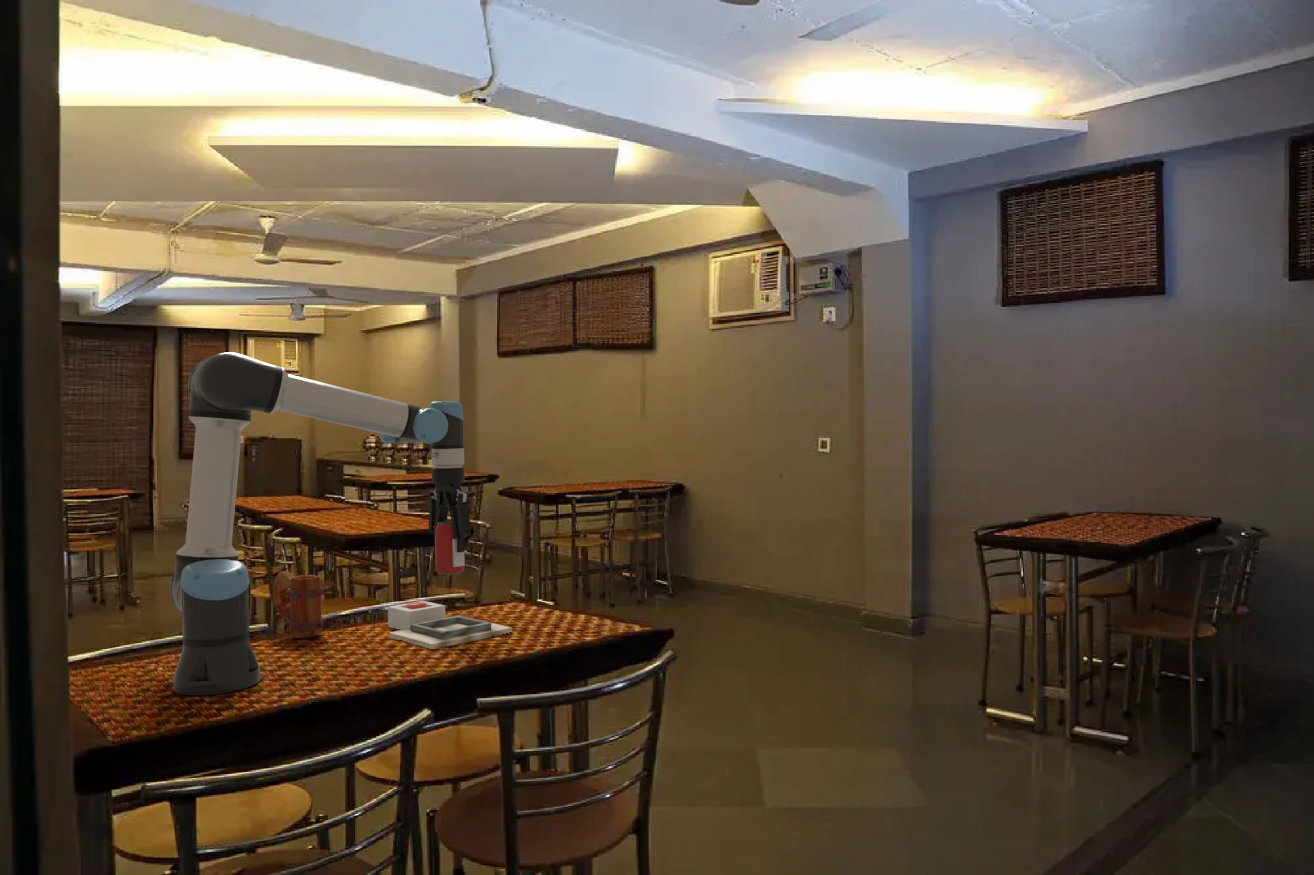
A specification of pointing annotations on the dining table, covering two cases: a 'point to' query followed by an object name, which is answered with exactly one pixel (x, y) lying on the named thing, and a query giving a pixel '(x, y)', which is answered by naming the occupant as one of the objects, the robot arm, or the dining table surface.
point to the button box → (413, 615)
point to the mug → (299, 603)
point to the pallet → (449, 632)
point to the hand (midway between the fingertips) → (450, 564)
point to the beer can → (445, 549)
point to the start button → (415, 605)
